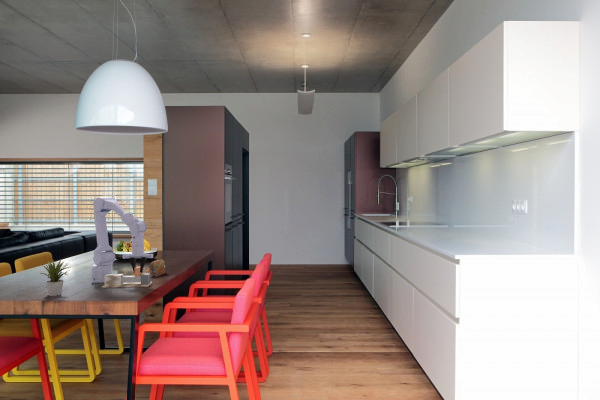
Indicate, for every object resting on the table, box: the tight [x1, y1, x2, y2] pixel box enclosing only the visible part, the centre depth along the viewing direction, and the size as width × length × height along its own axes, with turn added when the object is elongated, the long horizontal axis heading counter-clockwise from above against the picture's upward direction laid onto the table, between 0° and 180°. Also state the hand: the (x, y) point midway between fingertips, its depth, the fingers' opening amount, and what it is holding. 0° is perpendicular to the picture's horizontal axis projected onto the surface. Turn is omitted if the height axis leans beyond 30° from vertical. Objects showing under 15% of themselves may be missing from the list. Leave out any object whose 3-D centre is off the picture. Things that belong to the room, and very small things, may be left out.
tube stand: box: [101, 273, 153, 289], centre depth 237 cm, size 22×10×5 cm, turn 97°
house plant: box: [39, 258, 71, 297], centre depth 213 cm, size 14×14×16 cm
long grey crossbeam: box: [122, 266, 142, 283], centre depth 237 cm, size 14×3×8 cm, turn 97°
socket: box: [141, 272, 151, 285], centre depth 238 cm, size 4×6×5 cm, turn 7°
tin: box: [149, 259, 167, 277], centre depth 268 cm, size 15×3×8 cm, turn 168°
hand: (138, 272), depth 237 cm, fingers open, 3 cm apart
